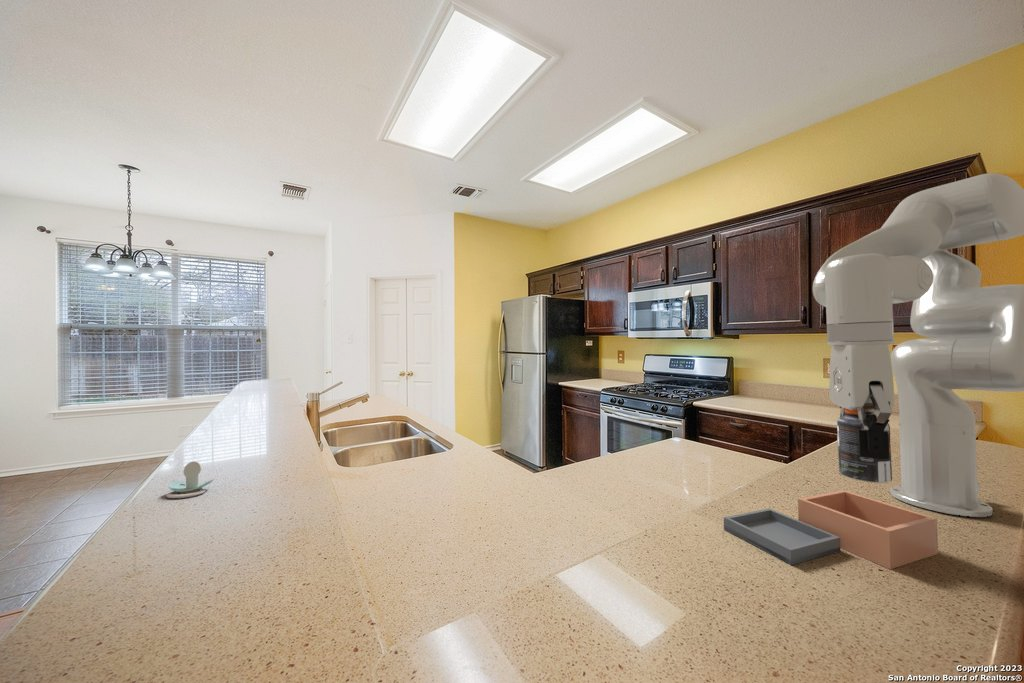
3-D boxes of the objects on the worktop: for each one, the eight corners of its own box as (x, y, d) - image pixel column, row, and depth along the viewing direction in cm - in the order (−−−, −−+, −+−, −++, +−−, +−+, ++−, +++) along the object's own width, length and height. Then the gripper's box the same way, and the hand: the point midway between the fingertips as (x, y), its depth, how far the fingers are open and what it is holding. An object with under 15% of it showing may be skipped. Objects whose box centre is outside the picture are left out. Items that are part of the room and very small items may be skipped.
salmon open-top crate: (843, 519, 63) (843, 490, 63) (938, 553, 52) (937, 518, 52) (798, 529, 59) (797, 498, 59) (890, 569, 48) (889, 531, 49)
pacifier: (199, 499, 72) (217, 487, 78) (199, 467, 72) (217, 458, 78) (156, 502, 71) (178, 489, 77) (156, 470, 71) (178, 460, 77)
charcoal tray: (769, 519, 63) (769, 508, 63) (840, 551, 53) (840, 537, 53) (723, 529, 59) (723, 517, 59) (791, 565, 49) (790, 550, 49)
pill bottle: (903, 485, 53) (900, 407, 53) (856, 483, 54) (853, 407, 54) (872, 471, 59) (869, 401, 59) (829, 469, 60) (827, 401, 60)
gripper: (811, 337, 66) (815, 436, 66) (849, 335, 50) (854, 465, 50) (866, 335, 63) (870, 440, 62) (925, 333, 47) (931, 472, 47)
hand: (863, 450), depth 56 cm, fingers closed on pill bottle, 6 cm apart
